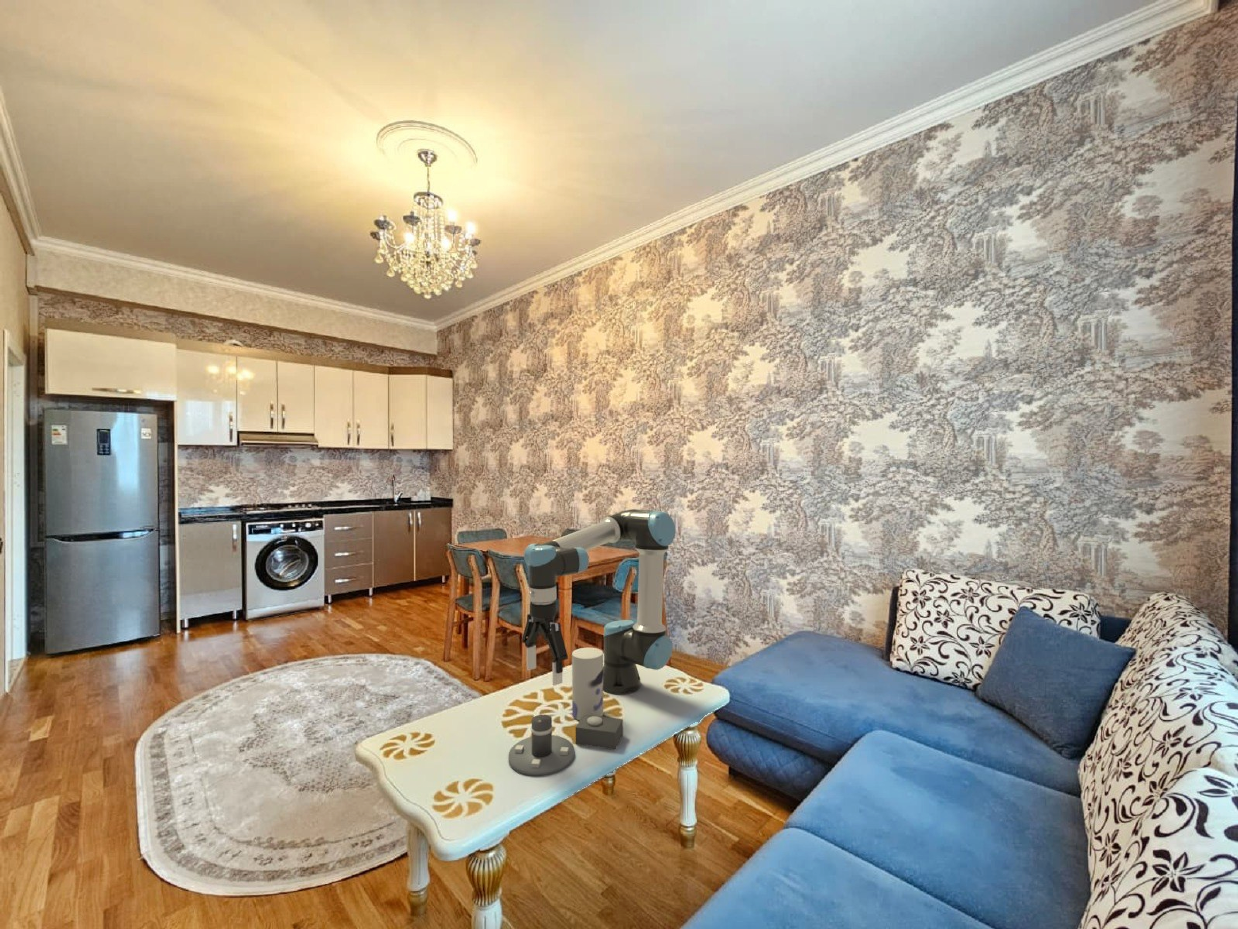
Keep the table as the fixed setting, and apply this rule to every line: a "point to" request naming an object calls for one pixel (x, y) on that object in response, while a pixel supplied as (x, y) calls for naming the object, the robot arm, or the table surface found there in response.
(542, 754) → the grey rounded cylinder
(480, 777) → the table surface
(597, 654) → the container
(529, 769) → the plate
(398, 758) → the table surface
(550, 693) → the table surface
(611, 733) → the camera body block
